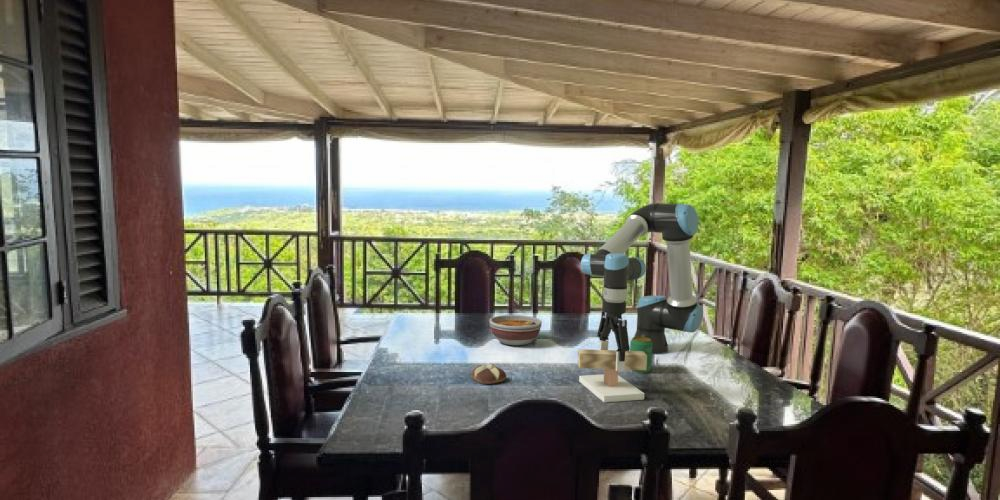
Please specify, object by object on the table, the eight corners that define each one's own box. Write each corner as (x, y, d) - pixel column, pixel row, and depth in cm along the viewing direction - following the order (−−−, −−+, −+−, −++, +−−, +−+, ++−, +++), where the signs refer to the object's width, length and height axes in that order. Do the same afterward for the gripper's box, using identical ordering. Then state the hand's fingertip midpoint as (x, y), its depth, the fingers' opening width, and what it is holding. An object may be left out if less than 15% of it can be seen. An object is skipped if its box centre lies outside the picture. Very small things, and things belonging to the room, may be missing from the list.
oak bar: (579, 368, 180) (580, 353, 180) (577, 363, 185) (578, 349, 185) (646, 370, 180) (647, 355, 180) (642, 365, 185) (643, 351, 185)
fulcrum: (615, 379, 195) (616, 357, 194) (644, 399, 176) (645, 375, 175) (579, 381, 191) (580, 359, 191) (604, 402, 172) (605, 377, 171)
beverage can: (636, 365, 212) (637, 335, 211) (654, 370, 206) (656, 339, 205) (624, 369, 206) (626, 338, 205) (643, 375, 201) (645, 343, 200)
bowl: (550, 341, 244) (550, 319, 243) (524, 353, 225) (525, 329, 224) (506, 333, 256) (507, 312, 255) (478, 343, 237) (479, 321, 236)
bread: (468, 376, 194) (468, 363, 193) (497, 373, 198) (498, 360, 198) (479, 387, 183) (479, 372, 183) (510, 383, 188) (510, 369, 187)
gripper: (589, 294, 191) (586, 355, 193) (621, 308, 168) (617, 376, 170) (609, 293, 193) (606, 354, 195) (643, 307, 170) (639, 375, 172)
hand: (611, 364), depth 183 cm, fingers open, 11 cm apart
